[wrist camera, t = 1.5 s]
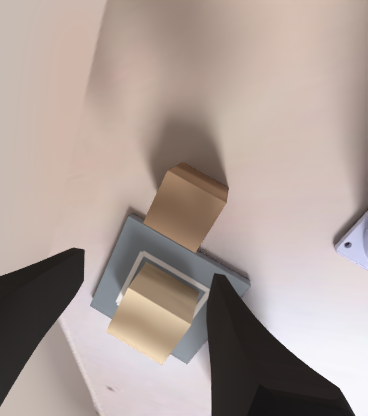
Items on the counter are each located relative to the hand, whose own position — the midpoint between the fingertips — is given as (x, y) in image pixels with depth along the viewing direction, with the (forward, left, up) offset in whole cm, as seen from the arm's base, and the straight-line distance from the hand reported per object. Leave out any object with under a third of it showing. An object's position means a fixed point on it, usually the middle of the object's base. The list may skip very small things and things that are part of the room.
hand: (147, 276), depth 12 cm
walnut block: (-2, 0, -9) cm, 9 cm away
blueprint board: (+9, +2, -9) cm, 13 cm away
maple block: (+9, +2, -8) cm, 12 cm away
